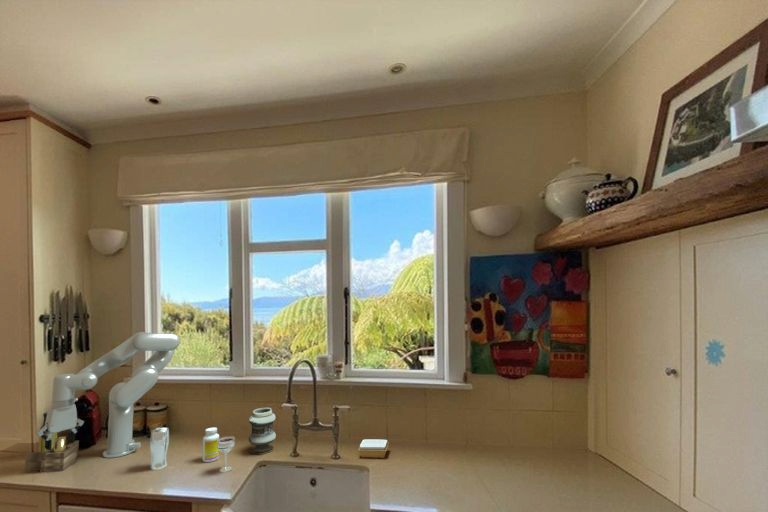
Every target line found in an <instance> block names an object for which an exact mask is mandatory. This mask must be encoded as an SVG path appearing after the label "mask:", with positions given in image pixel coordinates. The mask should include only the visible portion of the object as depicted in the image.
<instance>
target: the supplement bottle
mask: <svg viewBox="0 0 768 512" xmlns="http://www.w3.org/2000/svg"><path fill="white" fill-rule="evenodd" d="M218 439H220V434H219V433H218V428H217V427H209V428H205V435H204V436H203V437H202V459H201V460H202V461H203V462H204V463H212V462H214V461H217V460H218V459H219V458H220V451H219V450H218V447H217V445H218Z"/></svg>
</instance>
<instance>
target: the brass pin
mask: <svg viewBox="0 0 768 512" xmlns="http://www.w3.org/2000/svg"><path fill="white" fill-rule="evenodd" d="M66 446H67V436H57V438H55V439H54V452H63V451H65V450H66Z"/></svg>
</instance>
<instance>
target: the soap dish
mask: <svg viewBox="0 0 768 512" xmlns="http://www.w3.org/2000/svg"><path fill="white" fill-rule="evenodd" d="M389 444H390V442H389V441H388V440H387V439H377V438H376V439H374V438H373V439H368V438H367V439H362V441H361V442H360V444H359V447H358V449H357V451H358V453H359V455H360V458H380V459H384V458H386V457H385V456H386V454H387V451H388V448H389Z"/></svg>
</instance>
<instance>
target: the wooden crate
mask: <svg viewBox="0 0 768 512" xmlns="http://www.w3.org/2000/svg"><path fill="white" fill-rule="evenodd" d="M79 443H80V440H74V443H69V444H68V445H67V444H66V450H65V451H63V452H54V448H53V449H51V450H49V451H44V452H39V451H34V452H27V453H26V455H25V456H26V457H25V465H24V467H25V469H24V470H25V472H26V471H27V472H28V471H29V472H30V471H38V470H40V472H39V473H42V474H43V473H51V472H53V473H54V472H55V473H56V472H64V471H65V470H67V469H68V468H69V467H71V466H72V465H74V464H76V461H77V457H78V456H79V447H80V444H79Z"/></svg>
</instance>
